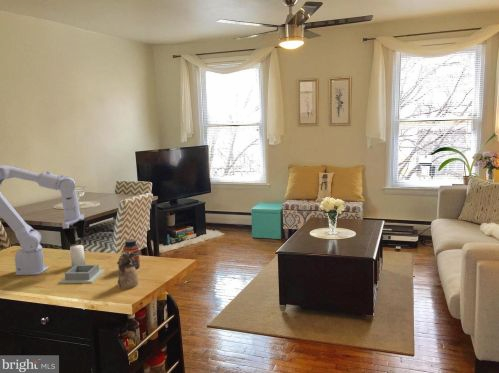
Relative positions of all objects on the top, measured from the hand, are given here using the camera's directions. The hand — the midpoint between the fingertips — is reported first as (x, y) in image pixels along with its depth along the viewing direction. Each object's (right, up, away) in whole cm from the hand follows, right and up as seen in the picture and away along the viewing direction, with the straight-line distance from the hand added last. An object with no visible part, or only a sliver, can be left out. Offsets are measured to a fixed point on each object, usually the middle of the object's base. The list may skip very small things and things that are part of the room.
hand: (77, 240), depth 172 cm
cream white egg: (0, -10, +2) cm, 11 cm away
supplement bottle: (+23, -11, -2) cm, 25 cm away
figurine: (+26, -13, -19) cm, 35 cm away
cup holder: (+6, -12, -10) cm, 17 cm away
